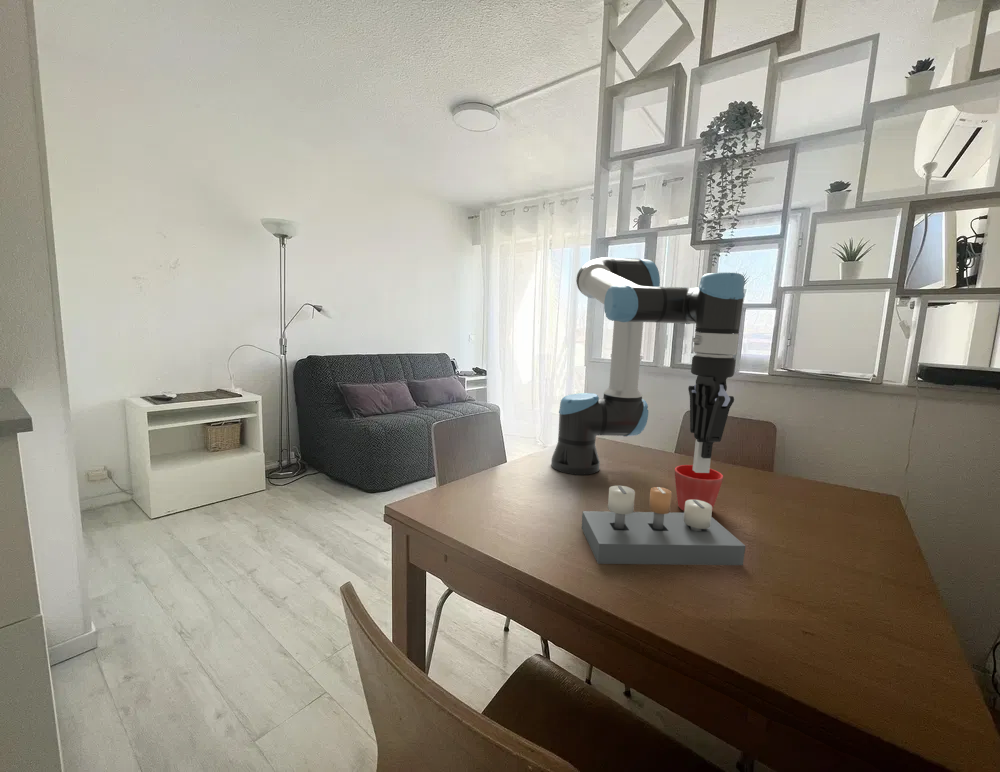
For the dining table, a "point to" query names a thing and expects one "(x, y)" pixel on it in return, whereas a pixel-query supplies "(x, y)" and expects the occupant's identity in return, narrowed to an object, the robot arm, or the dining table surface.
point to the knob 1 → (621, 503)
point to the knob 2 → (697, 514)
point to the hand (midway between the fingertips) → (700, 471)
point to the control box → (659, 541)
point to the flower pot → (696, 485)
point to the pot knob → (659, 505)
